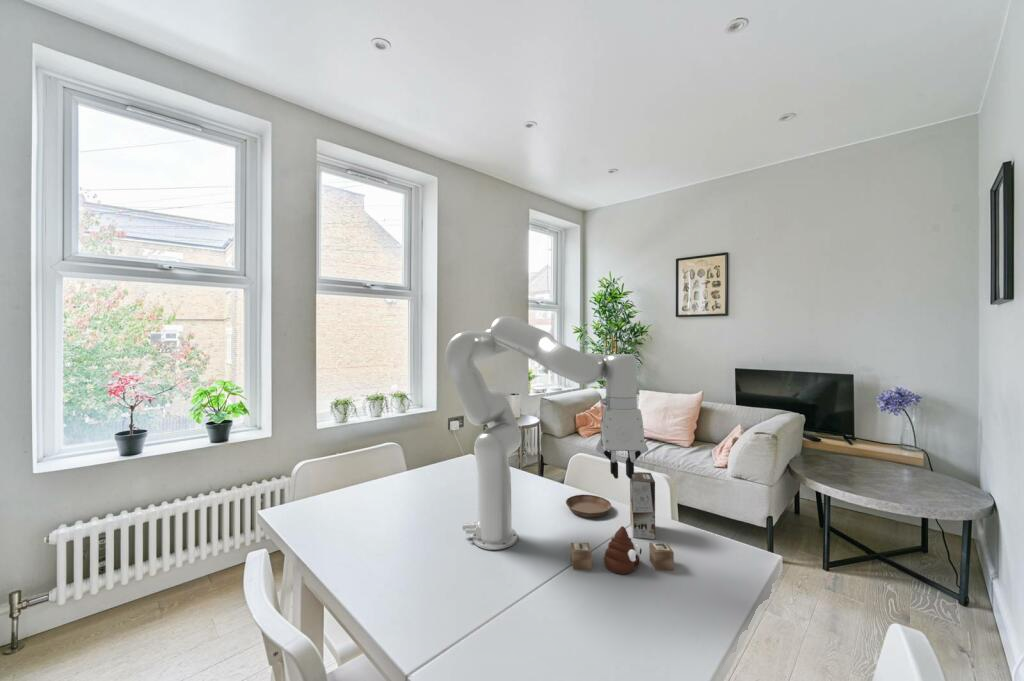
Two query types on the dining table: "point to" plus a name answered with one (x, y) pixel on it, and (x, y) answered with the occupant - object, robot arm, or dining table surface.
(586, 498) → the saucer
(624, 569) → the poop emoji
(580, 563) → the letter i block
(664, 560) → the letter l block
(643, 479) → the coffee box
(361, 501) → the dining table surface
